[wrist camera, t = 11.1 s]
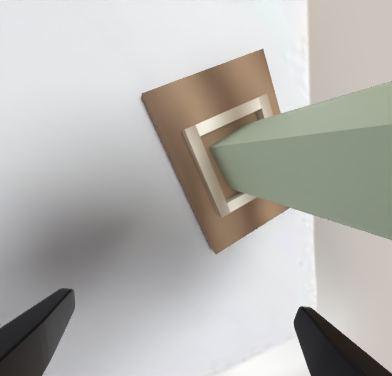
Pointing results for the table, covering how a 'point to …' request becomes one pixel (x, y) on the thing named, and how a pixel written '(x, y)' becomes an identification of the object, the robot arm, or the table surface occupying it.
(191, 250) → the table surface
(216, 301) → the table surface
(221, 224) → the base board
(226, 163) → the pillar
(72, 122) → the table surface
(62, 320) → the robot arm
